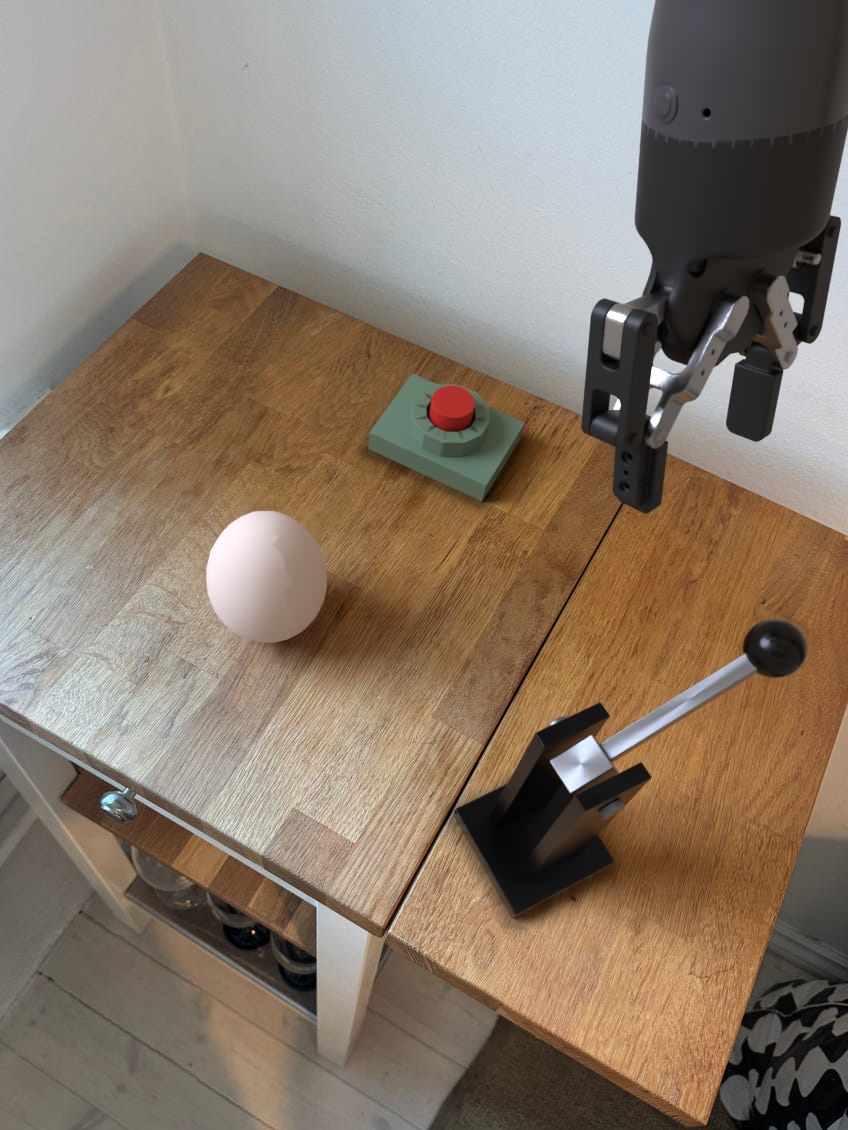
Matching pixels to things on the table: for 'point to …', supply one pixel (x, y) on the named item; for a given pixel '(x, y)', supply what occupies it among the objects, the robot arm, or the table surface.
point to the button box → (445, 440)
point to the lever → (685, 703)
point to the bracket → (546, 819)
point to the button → (452, 408)
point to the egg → (266, 577)
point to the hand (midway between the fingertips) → (694, 468)
